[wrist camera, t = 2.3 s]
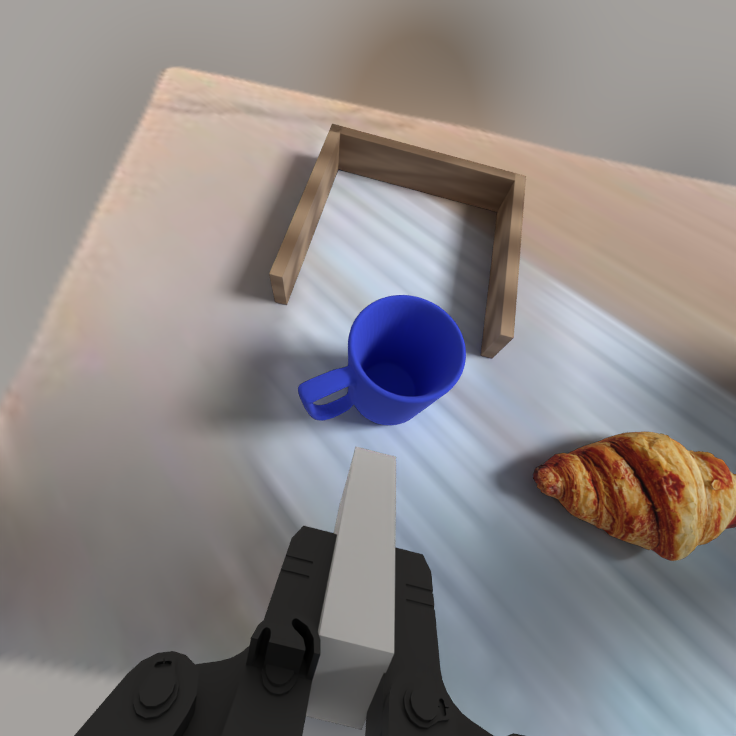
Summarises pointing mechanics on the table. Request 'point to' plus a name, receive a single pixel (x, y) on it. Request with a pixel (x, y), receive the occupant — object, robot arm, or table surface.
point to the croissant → (645, 491)
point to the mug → (392, 362)
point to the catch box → (426, 176)
